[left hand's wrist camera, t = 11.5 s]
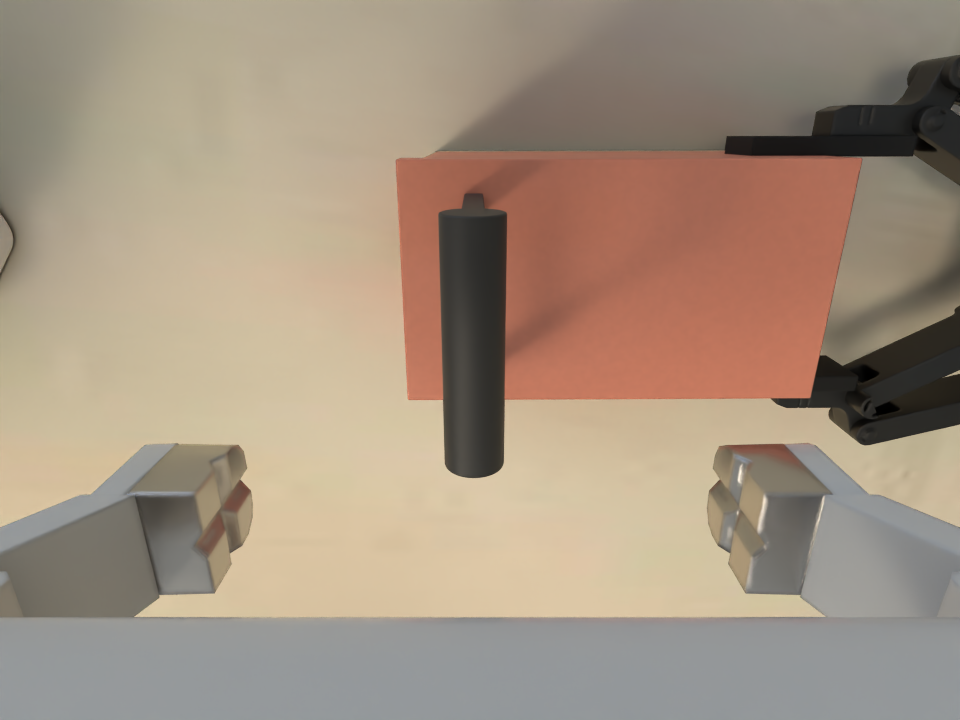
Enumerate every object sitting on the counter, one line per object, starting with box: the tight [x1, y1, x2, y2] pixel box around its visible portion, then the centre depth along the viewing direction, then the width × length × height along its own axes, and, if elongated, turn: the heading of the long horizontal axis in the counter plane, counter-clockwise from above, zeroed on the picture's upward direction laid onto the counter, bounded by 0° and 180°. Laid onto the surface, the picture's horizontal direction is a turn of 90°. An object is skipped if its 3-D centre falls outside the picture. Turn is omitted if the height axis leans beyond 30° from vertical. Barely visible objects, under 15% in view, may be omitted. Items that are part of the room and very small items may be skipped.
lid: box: [396, 157, 862, 478], centre depth 20 cm, size 17×10×9 cm, turn 90°
